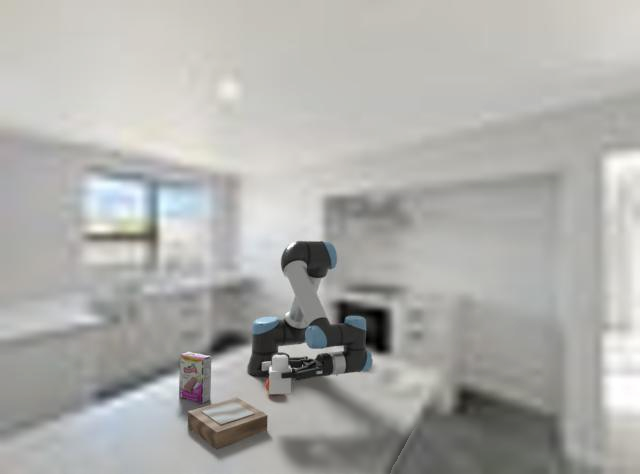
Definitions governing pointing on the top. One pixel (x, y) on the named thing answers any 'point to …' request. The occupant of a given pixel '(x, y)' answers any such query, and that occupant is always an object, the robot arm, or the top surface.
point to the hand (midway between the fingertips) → (266, 371)
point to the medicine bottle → (277, 363)
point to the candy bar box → (195, 377)
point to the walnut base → (227, 422)
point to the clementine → (267, 385)
